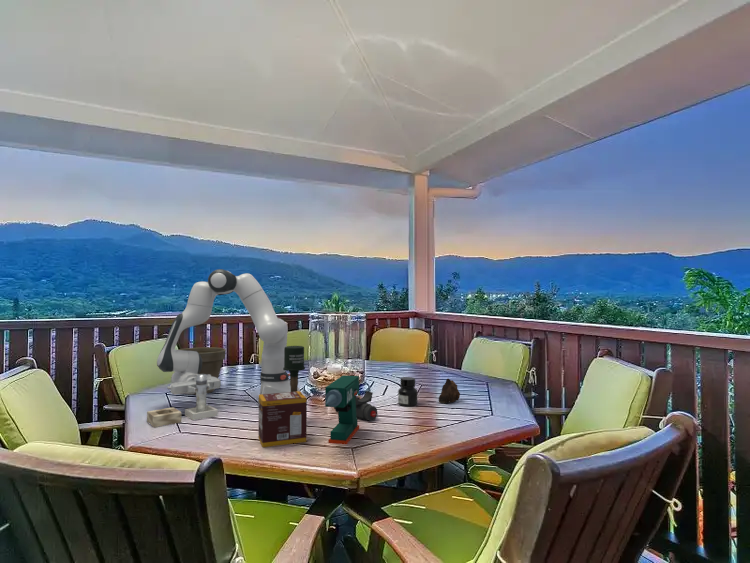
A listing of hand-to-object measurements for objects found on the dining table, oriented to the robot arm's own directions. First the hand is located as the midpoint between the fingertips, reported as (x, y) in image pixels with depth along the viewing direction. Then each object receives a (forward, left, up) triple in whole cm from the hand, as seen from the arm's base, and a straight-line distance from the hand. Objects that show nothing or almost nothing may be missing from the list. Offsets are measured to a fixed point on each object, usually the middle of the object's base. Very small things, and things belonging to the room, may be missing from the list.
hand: (202, 389), depth 184 cm
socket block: (+9, +12, -11) cm, 18 cm away
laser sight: (-60, -21, -12) cm, 65 cm away
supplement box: (-46, +16, -11) cm, 50 cm away
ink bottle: (-77, -45, -11) cm, 90 cm away
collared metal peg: (+1, 0, -10) cm, 10 cm away
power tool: (-66, +11, -11) cm, 68 cm away
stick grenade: (-40, -4, -11) cm, 42 cm away
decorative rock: (-95, -56, -11) cm, 111 cm away
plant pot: (+31, -36, -11) cm, 49 cm away
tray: (+1, 0, -11) cm, 11 cm away
